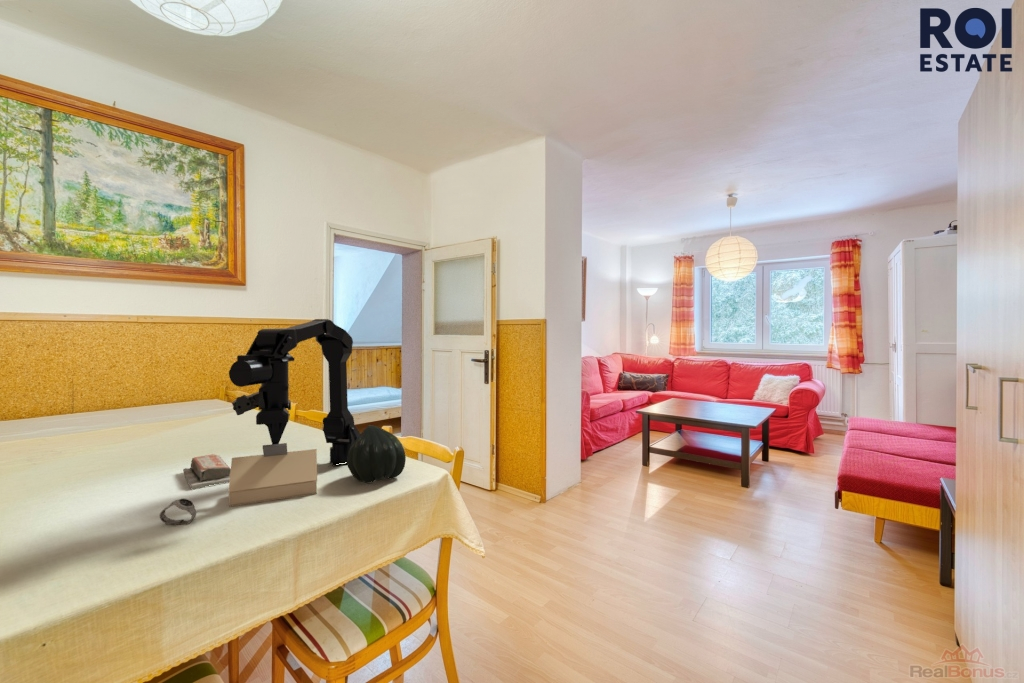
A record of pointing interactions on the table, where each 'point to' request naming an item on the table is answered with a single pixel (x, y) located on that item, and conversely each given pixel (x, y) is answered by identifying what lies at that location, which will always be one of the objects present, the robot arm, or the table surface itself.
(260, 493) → the cardboard box
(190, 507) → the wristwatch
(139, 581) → the table surface
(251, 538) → the table surface
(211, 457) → the packaged product
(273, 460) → the lid
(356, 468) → the squash
